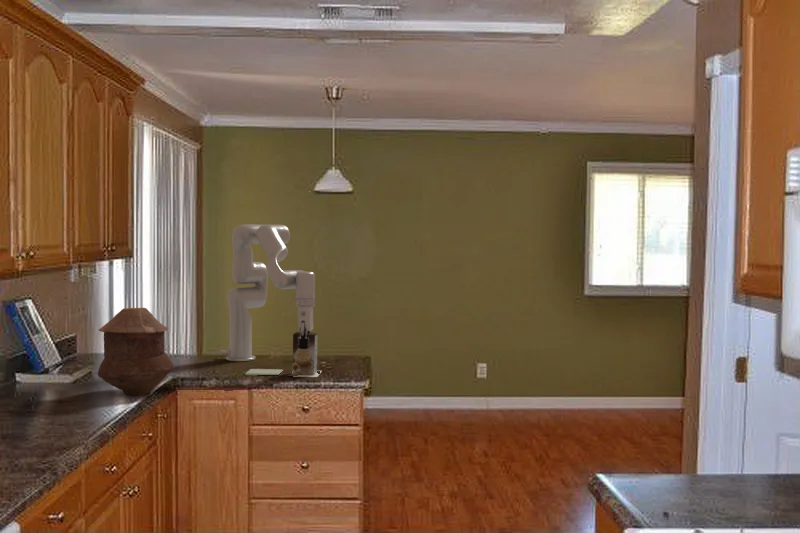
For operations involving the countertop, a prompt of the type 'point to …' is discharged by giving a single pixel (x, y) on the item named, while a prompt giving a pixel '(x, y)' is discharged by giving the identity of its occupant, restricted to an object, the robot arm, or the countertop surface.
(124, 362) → the pottery vessel
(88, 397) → the countertop surface
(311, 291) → the robot arm
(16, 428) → the countertop surface
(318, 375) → the card
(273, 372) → the green pad
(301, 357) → the coffee box
